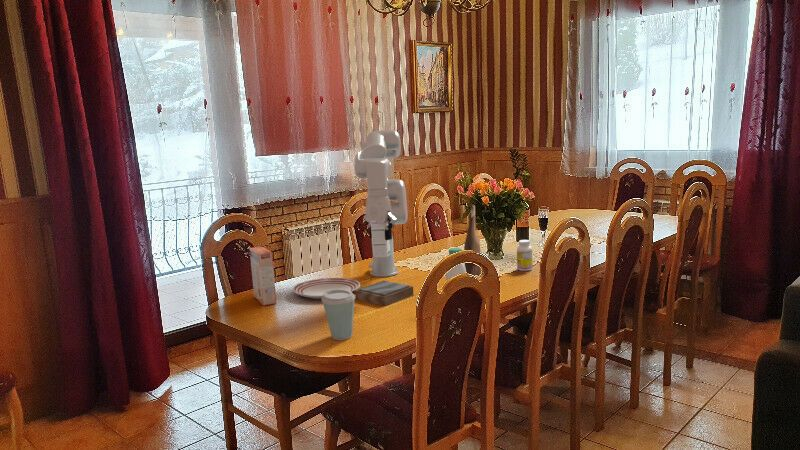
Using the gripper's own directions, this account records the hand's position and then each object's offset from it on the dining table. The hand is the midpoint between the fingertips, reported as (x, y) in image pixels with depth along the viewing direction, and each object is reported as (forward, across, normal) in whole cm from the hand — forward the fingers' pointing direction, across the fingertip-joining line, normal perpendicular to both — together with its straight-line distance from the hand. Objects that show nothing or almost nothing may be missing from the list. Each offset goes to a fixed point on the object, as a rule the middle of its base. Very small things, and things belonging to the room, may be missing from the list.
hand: (380, 238), depth 228 cm
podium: (+23, 0, 0) cm, 23 cm away
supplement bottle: (+24, +25, +63) cm, 72 cm away
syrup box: (+7, 0, 0) cm, 7 cm away
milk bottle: (+24, +27, +11) cm, 38 cm away
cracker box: (+24, -38, -29) cm, 53 cm away
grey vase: (+24, +15, +38) cm, 47 cm away
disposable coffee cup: (+23, +18, -39) cm, 49 cm away
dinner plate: (+24, -25, -8) cm, 36 cm away
